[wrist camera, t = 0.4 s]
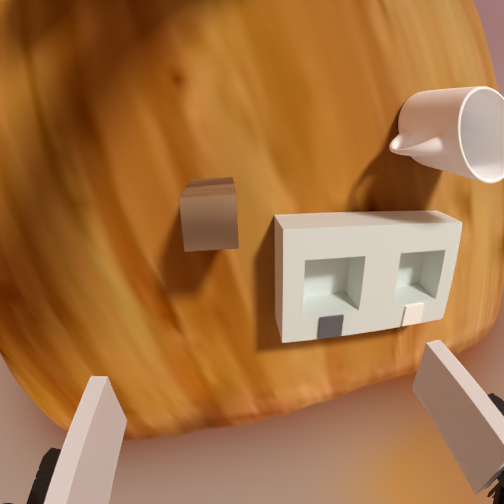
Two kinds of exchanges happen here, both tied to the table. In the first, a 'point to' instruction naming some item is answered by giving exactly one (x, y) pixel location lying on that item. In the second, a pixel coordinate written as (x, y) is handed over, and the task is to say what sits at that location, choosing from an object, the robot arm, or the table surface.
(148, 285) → the table surface
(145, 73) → the table surface
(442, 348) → the robot arm
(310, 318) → the socket board
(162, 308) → the table surface
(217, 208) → the plug
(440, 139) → the mug
